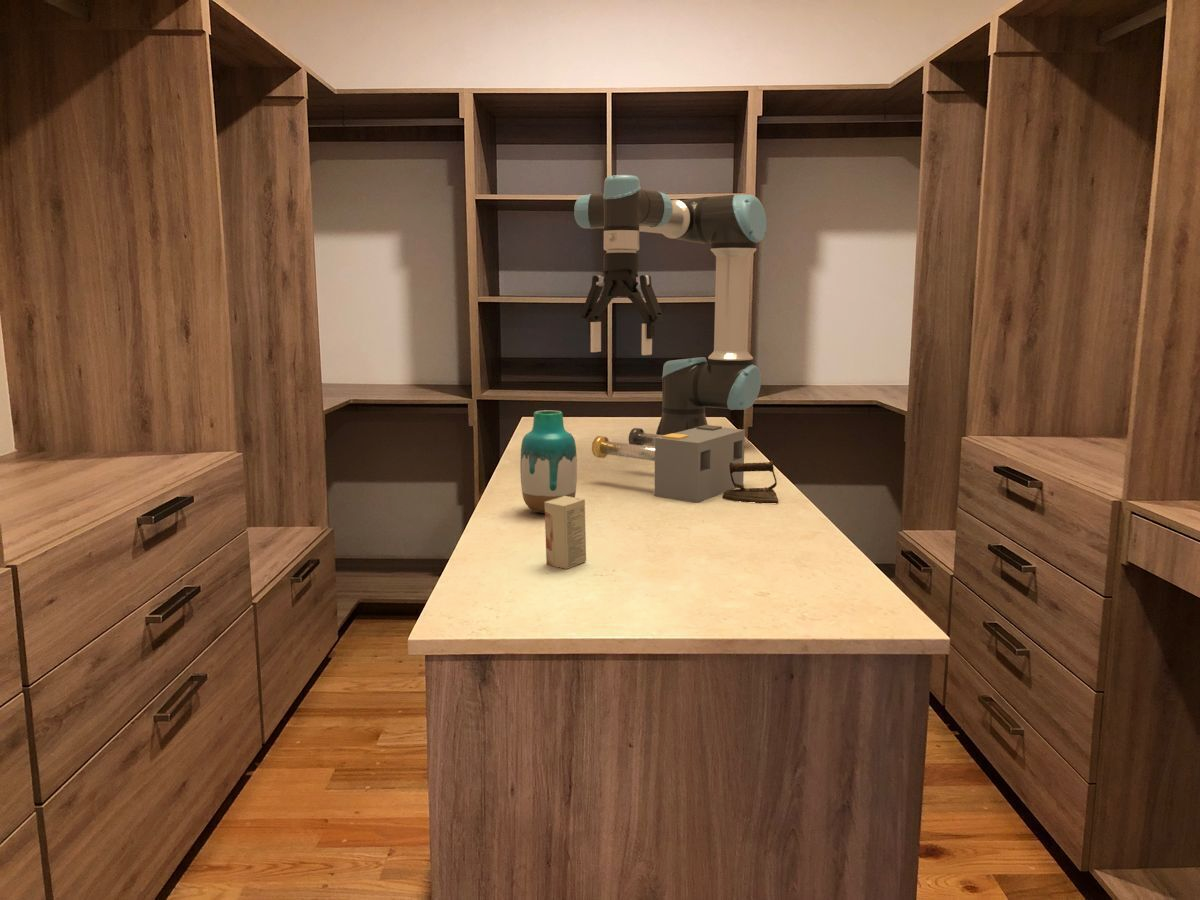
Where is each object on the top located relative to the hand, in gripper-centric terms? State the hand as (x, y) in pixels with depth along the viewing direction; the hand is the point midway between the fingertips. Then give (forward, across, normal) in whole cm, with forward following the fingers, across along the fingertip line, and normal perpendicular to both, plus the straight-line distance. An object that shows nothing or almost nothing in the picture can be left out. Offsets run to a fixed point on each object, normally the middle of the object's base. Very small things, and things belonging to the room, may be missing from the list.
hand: (620, 353), depth 190 cm
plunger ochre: (+22, +8, -4) cm, 24 cm away
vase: (+28, +6, -30) cm, 42 cm away
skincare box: (+28, +29, -53) cm, 66 cm away
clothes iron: (+28, +31, +2) cm, 42 cm away
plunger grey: (+22, +7, +10) cm, 25 cm away
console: (+28, +19, +3) cm, 34 cm away
